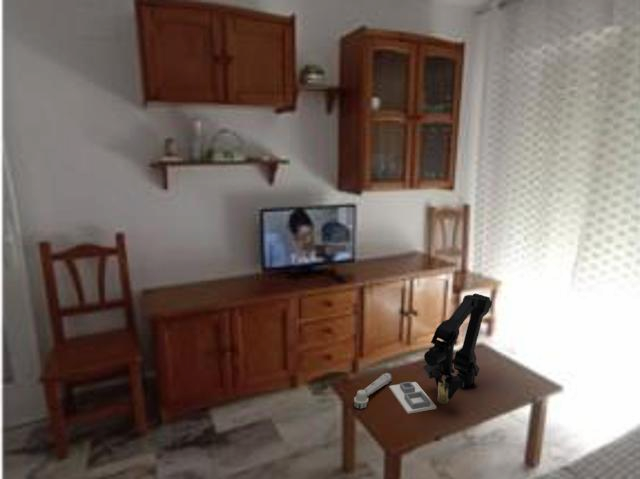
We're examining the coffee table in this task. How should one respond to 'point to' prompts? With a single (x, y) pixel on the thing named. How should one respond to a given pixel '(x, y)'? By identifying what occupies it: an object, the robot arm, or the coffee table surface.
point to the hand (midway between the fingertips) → (443, 392)
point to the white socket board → (412, 397)
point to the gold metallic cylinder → (442, 392)
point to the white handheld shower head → (371, 390)
